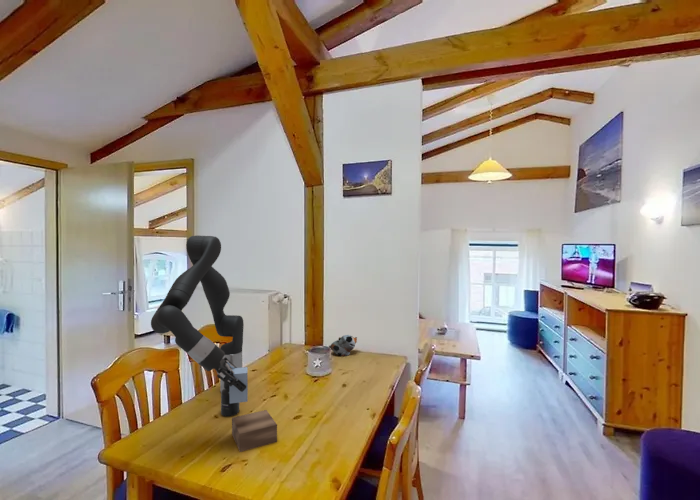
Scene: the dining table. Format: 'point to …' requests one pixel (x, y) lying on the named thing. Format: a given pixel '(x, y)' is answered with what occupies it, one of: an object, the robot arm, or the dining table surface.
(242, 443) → the walnut box
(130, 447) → the dining table surface
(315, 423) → the dining table surface
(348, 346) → the grey toy figure
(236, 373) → the blue-gray rectangular block
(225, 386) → the supplement bottle
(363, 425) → the dining table surface
